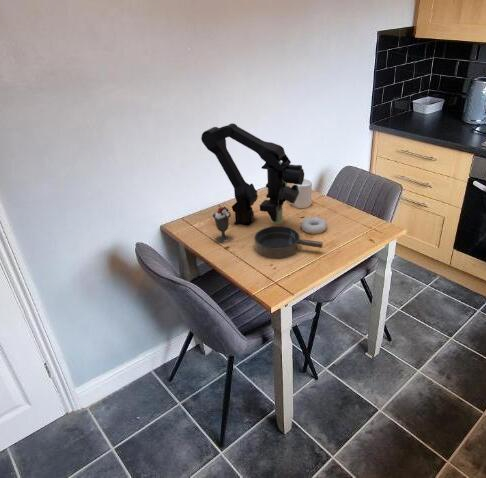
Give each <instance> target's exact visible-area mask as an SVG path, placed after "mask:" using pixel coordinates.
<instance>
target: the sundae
mask: <svg viewBox="0 0 486 478" xmlns="http://www.w3.org/2000/svg"><path fill="white" fill-rule="evenodd" d="M231 215H232V214H231V212H230V211H229V209H228V208H227V207H226V206H221V205H220V204H219V205H218V209H217V210H216V212H214V213H213V214H212V217H211V218H213V219H214V221H215V226H216V228H217V230H218V231H219V232H221V236H218V237H217V239H216V241H217V242H218V243H221V244H223V243H224V242H225V241H228V240H229V235H226V231H227V230H228V229H229V224H230V223H229V222H230V218H231Z"/></svg>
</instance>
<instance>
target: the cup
mask: <svg viewBox="0 0 486 478" xmlns="http://www.w3.org/2000/svg"><path fill="white" fill-rule="evenodd" d="M293 185H294V184H291V186H290V188H291V187H292V186H293ZM295 185H297V186H298V190H299V194H298V197H297V199H296V201H295V202H294V203H290V202H289V201H287V200H286V201H285V202H286V203H288V204H292V206H293V207H294V208H296V209H307V208H309V207H311V206H312V200H313V199H312V198H313V197H312V195H313V194H312V193H313V181H312V180H310V179H309V178H308V179H307V178H304V180H303V183H302V184H301V185H298V184H295Z"/></svg>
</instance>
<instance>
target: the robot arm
mask: <svg viewBox="0 0 486 478" xmlns="http://www.w3.org/2000/svg"><path fill="white" fill-rule="evenodd" d="M226 138H230V139H232V140H234V141H236V142H237V143H239V144H241V145H242V146H244V147H246V148H247V149H250V150H251V151H253V152H255V153H256V154H258V156H259V157H260V159H261V160H262V161H263V162H265V163H264V165H262V166H261V169H262V170H266V171H267V172H266V173H267V183H266V184H265V188H267V194H265V195H266V196H265V197H266V199H264V200H263V201H262V202H261V203H260V205H259V211H260V212H267V214H268V216H269V217H270V220H271V219H272V221H273V222H276V217H277V211H278V210H279V209H280V207H281V206H279V204H281V205H282V207H283V205H284V203H285V202H286V200H287V201H289V202H290V203H289V204H292V203H294V202H295V201H296V199H297V197H298V194H299V190H298V186H297V185H295V184H298V185H301V184H302V183H303V180H304V179H305V172H304V171H305V170H304V168H303V165H301V164H291V162H292V161H291V159H290V158H289V156H288V155H287V154H286V152H285V149H284V147H283V146H282V145H280V144H277V143H274V142H271V141H265V140H262V139H261V138H259V137H258V136H255V135H254V134H252V133H250V132H249V131H246V130H245V129H243V128H241V127H239V125H237V124H236V123H233V122H232V123H229V124H227V125H223V126H221V127H217V126H213V127H210V128H208V129H207V130H204V131H203V132H202V134H201V137H200V139H201V143H202V144H203V145H204V147H205V149H207V151H209V152H210V153H212V154H213V155H214V156H215V157H216V159H217V161H218V162H219V164H220V166H221V168H222V170H223V171H224V173H225V175H226V177H227V178H228V180H229V182H230V184H231V185H232V187H233V192H234V199H235V200H236V202H235V203H234V204H232V206H231V209H232V212H233V213H234V216H235V217H234V219H235V221H234V222H233V225H235V226H246V227H249V226H251V224H253V223H254V221H255V212H254V210H253V207H252V206H254V204H255V203H256V201H257V200H258V197H259V196H258V190H257V189H256V188H255V186H254V184H253V183H250V184H249V183H248V182H247V181H246V180H245V179H244V177H243V175H242V174H241V172H240V169H239V168H238V166H237V164H236V162H235V161H234V159H233V157H232V155H231V154H230V152H229V150H228V149H227V140H226ZM280 161H283V162H282V163H281V164H280V163H279V162H280ZM285 182H286V183H287V184H291V186H289V185H287V186H286V183H285ZM292 184H294V185H293V186H292ZM290 187H291V188H290Z"/></svg>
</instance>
